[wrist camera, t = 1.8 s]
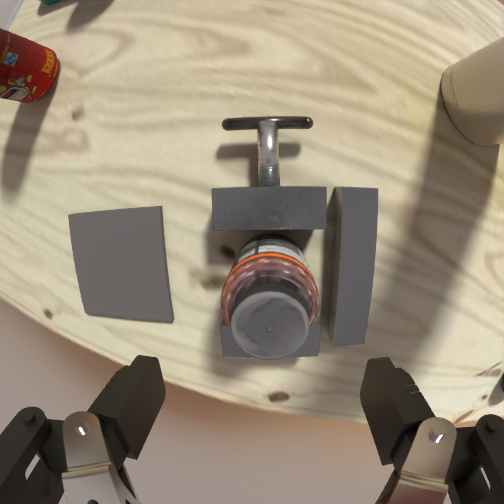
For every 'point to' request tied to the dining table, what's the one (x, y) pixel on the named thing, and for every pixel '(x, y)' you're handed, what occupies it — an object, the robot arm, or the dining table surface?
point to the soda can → (26, 68)
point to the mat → (122, 263)
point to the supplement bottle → (270, 298)
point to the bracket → (49, 1)
